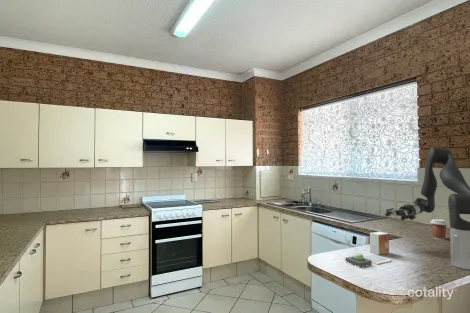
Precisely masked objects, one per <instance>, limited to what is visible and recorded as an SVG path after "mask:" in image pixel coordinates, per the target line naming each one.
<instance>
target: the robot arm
mask: <svg viewBox="0 0 470 313" xmlns="http://www.w3.org/2000/svg"><path fill="white" fill-rule="evenodd" d="M427 151H428V152H427V153H426V160H425V168H424V177H423V181H422V186H421V190H420V195H421V196H423V197H424V198H422V197H417V198H416V199H415V200H414V201H413V202H411V203H406V204H404V205H401V206H399V208H398V209H394V208H393V207H392V208H388V209H386V210H385V214H384V216H385V217H390V216H393V217H400V220H401V221H404V220H411V221H412V220H414V219H417V215H419V214H422V213H423V212H425V213H429V214H430V213H433V212H434V211H435V208H436V203H435V201H436V199H435V195H436V191H437V188H438V180H437V178H436V175H435V172H434V164H438V165H442V166H443V167H442V168H441V169H440V170H439V179H440V180H441V183H442V184H443V185H444V187H445V188H447V189H449V190H450V191H452V192H453V193H451V194H449V195H448V199H447V203H448V220H449V240H450V242H449V244H450V246H449V248H450V265H452V266H453V267H455V268H459V269H463V270H469V271H470V221H468V220H465V219H464V218H462V217H461V215H470V186H469V185H468V183H467V181H466V180H465V177H464V174H463V173H462V172H461V170H460V169H459V167H458V164H457V163H456V160H455V158H454V155H453V152H452V151H451V149H448V148H444V147H443V148H442V147H435V146H433V147H430V148H429V149H428V150H427ZM425 198H426V199H425Z"/></svg>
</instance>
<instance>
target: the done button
mask: <svg viewBox="0 0 470 313" xmlns="http://www.w3.org/2000/svg"><path fill="white" fill-rule="evenodd" d="M363 255H364V254H362V253H357V252H355V253H353V254H352V256H353V259H354V260H357V261H363Z"/></svg>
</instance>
